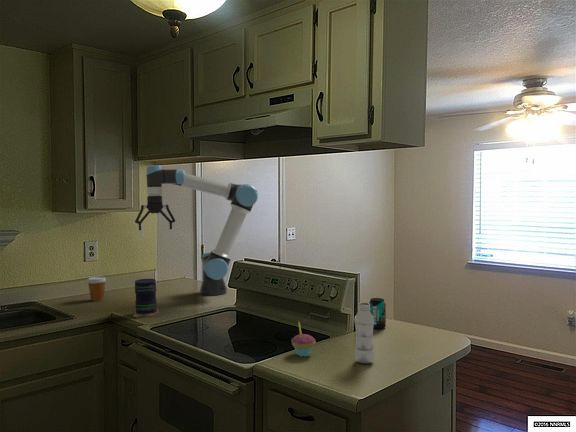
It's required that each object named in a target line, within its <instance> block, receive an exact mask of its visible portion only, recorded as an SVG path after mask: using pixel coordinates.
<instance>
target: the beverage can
mask: <svg viewBox="0 0 576 432" xmlns="http://www.w3.org/2000/svg"><path fill="white" fill-rule="evenodd" d="M368 303H369V304H370V310H369V311H370V313H371V314H372V316H373V318H374V326H373V330H384V329H385V328H386V321H387V319H386V318H387V314H386V313H387V312H386V311H387V304H386V302H385V299H384V298H381V297H371V298H370V300H369V302H368Z"/></svg>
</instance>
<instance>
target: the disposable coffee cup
mask: <svg viewBox="0 0 576 432" xmlns="http://www.w3.org/2000/svg"><path fill="white" fill-rule="evenodd" d="M86 282H87V285H88V289H89V295H90V300H91V302H101V301H103V300H104V299H105V289H106V283H107V279H106V276H92V277H89V278H88V279H87V280H86Z"/></svg>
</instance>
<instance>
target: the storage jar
mask: <svg viewBox="0 0 576 432" xmlns="http://www.w3.org/2000/svg"><path fill="white" fill-rule="evenodd" d="M156 292H157V279H156V278H139V279H136V280H135V281H134V293H135V310H136V313H137V314H151V313H155V312H157V309H158V307H157V306H158V304H157V302H158V300H157V293H156Z"/></svg>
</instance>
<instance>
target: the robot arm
mask: <svg viewBox="0 0 576 432" xmlns="http://www.w3.org/2000/svg"><path fill="white" fill-rule="evenodd" d="M145 176H146V194H147V196H146V201H147V202H146V203H147V204H146V205H145V204H141V205H140V209H139V212H138V214H137V217H136V219H135V220H134V223H135V224H138V230H139V231H141V232H140V233H141V237H142V238H143V237H144V224H143V222H144V221H145V220H146V218H147V217H148V216H149V215H150V213H151V214H159V213H160V214H161V215H162V216H163V217H164V218H165V220H166V221H168V223H167V228H168V229H167V233H168V235H167V236H168V237H170V236H171V230H172V229H173V223H175V222H176V219H175V217H174V215H173V213H172V211H171V210H170V206H169V204H163V196H162V195H163V186H162V184H163V185H168V184H169V185H175V186H178V187H179V186H180V187H183V188H186V189H190V190H191V189H192V190H195V191H199V192H202V193H207V194H209V195H210V194H211V195H215V196H218V197H222V198H224V199H225V200H226V201H231V202H230V206H231V209H230V212H229V214H228V215H227V220H226V221H225V224H224V226H223V228H222V231H221V233H220V236H219V239H218V240H217V243H216V245H215V247H214V249H211V251H210V252H205V253H202V257H201V261H202V282H201V285H200V289H199V294H200V295H203V296H220V295H224V294H227V293H228V290H227V289H228V288H227V285H226V282H225V279H224V278H225V277H226V276H227V275H228V271H229V265H230V263H231V260H232V257H231V253H232V251H233V248H234V246H235V243H236V240H237V238H238V236H239V233H240V230H241V229H242V226H243V224H244V221H245V219H246V216H247V215H248V214H249V213H251V211H252V208H253V206H254V205H255V204H256V202H257V201H258V197H259V194H258V190H257V189H256V187H254V186H253V185H251V184H248V183H243V184H236V183H232V182H230V183H224V182H220V181H216V180H213V179H208V178H204V177H201V176H199V175H198V176H197V175H194V174H189V173H186V171H185V169H180V168H179V169H178V168H177V169H176V168H175V169H173V168H172V169H164V168H163V169H162V165H148V166H147V167H146V175H145ZM145 209H147V210H148V211H147V212H146V213H145V215H143V217H141V216H142V214H143V212H144V210H145ZM163 209H165V210H166V211H167V214H168V215H169V216H170V218H171V219H170V218H169V217H168V216H167V214H166V213H165V212H164V211H163ZM140 218H141V219H140Z"/></svg>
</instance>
